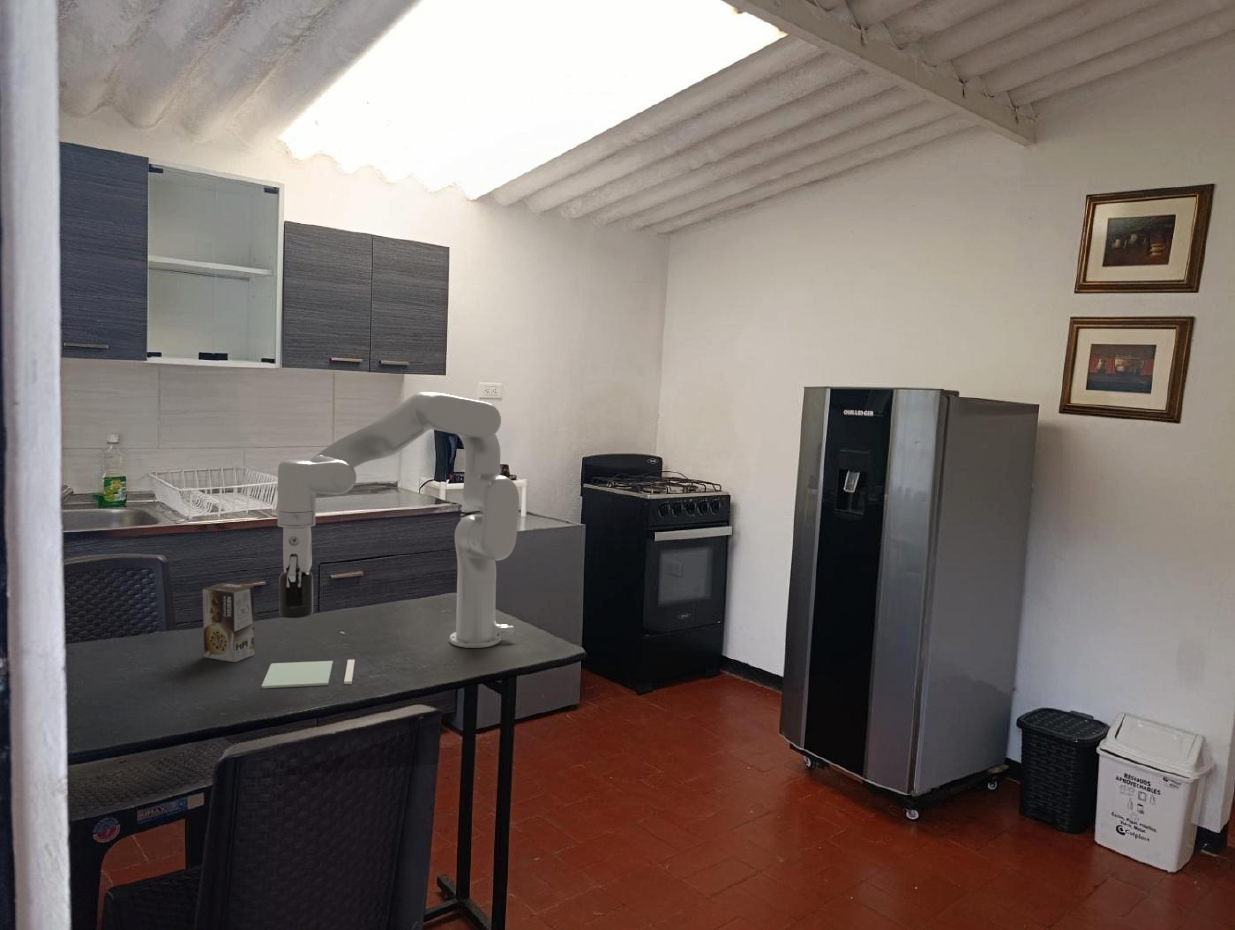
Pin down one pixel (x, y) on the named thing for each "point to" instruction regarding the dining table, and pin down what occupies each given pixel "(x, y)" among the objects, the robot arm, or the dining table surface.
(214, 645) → the coffee box
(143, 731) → the dining table surface
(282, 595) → the supplement bottle
